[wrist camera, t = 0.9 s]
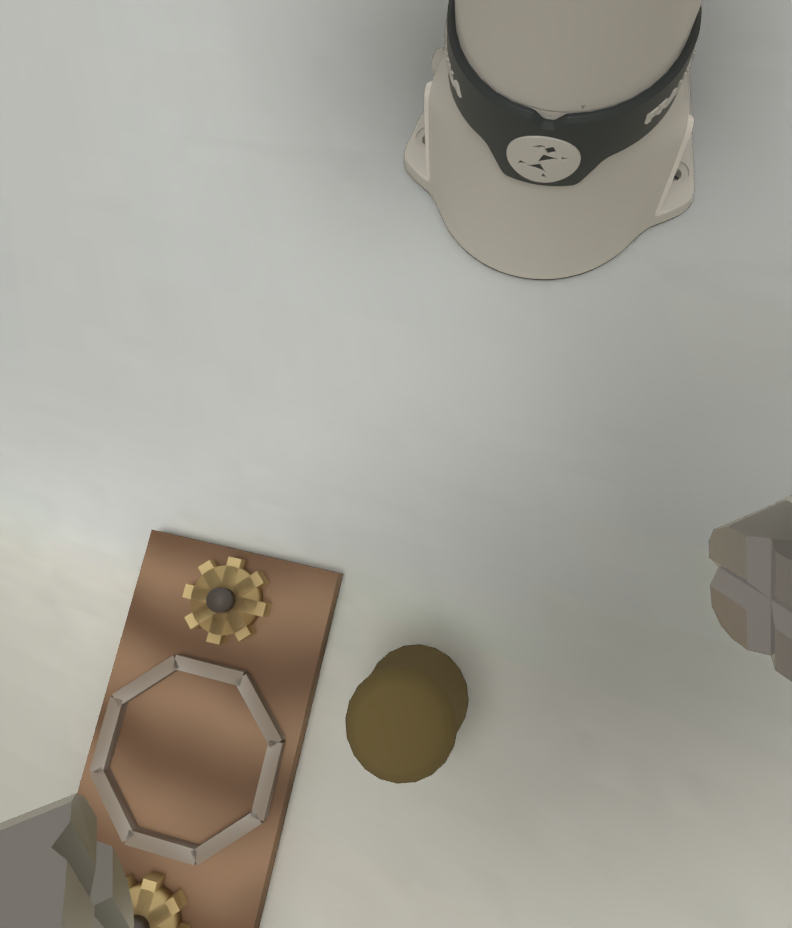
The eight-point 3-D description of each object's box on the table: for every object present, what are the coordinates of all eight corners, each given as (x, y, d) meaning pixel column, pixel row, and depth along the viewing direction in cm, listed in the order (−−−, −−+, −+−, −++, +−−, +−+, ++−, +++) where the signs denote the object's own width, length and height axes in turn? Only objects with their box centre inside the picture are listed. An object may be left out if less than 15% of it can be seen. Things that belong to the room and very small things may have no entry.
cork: (362, 746, 43) (325, 795, 32) (369, 640, 44) (335, 653, 33) (465, 755, 42) (463, 808, 31) (470, 648, 43) (469, 663, 32)
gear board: (162, 532, 46) (135, 526, 43) (342, 574, 45) (331, 571, 41) (49, 933, 43) (9, 964, 39) (242, 995, 41) (220, 1033, 37)
